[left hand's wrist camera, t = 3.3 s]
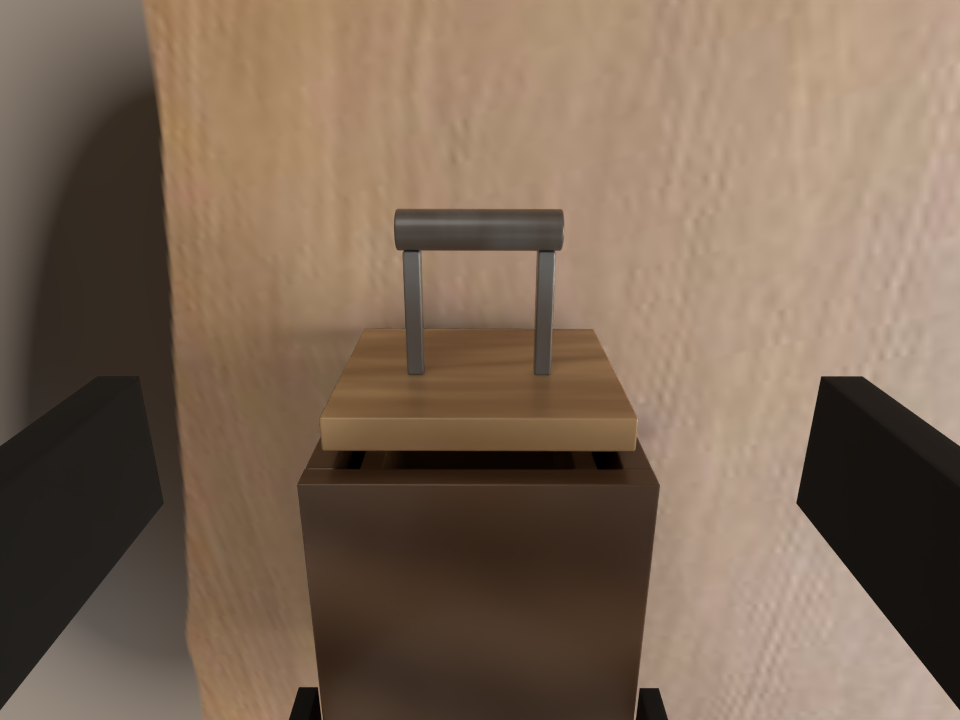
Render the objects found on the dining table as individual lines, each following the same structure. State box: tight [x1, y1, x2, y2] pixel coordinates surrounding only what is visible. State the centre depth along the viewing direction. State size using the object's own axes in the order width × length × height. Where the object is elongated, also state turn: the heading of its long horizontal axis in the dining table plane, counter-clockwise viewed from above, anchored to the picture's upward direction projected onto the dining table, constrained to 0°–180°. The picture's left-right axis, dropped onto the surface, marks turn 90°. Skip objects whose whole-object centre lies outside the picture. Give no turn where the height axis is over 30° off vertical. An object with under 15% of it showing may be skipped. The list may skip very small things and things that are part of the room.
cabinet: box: [297, 437, 660, 720], centre depth 29 cm, size 16×11×11 cm
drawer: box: [319, 209, 638, 470], centre depth 27 cm, size 21×10×9 cm, turn 0°
